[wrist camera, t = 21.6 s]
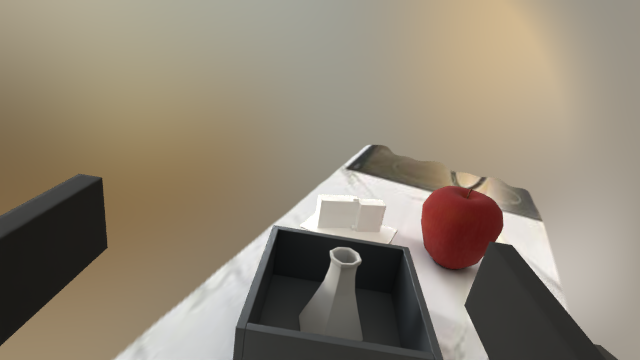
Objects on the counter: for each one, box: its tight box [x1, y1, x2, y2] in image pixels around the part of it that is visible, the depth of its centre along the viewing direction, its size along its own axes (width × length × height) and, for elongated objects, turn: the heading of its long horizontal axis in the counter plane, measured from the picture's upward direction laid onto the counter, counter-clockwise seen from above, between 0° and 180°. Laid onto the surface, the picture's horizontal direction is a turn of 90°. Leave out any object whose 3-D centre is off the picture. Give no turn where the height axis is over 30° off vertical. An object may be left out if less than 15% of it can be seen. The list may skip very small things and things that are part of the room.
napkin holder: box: [300, 194, 397, 244], centre depth 64 cm, size 15×11×6 cm
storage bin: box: [233, 225, 443, 360], centre depth 39 cm, size 18×18×8 cm
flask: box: [299, 247, 363, 341], centre depth 39 cm, size 7×7×10 cm
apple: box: [421, 186, 503, 269], centre depth 57 cm, size 12×12×13 cm
